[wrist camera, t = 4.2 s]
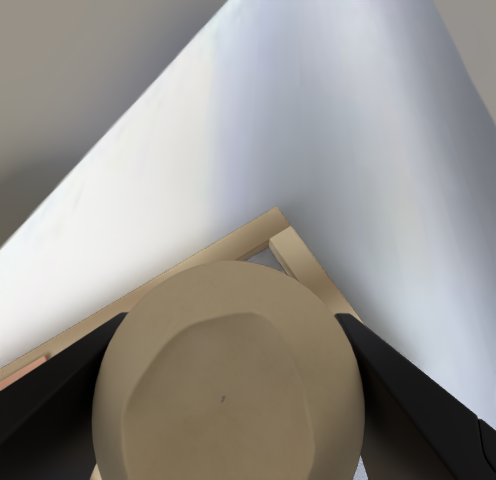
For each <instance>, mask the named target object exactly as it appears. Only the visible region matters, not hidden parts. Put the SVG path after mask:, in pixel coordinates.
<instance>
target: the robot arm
mask: <svg viewBox="0 0 496 480" xmlns="http://www.w3.org/2000/svg"><path fill="white" fill-rule="evenodd" d="M128 313H129V312H121V313H119V314H117V315H116V316H114V317H113V318H111V319H110V320H108V321H107V322H105V323H103V324H102V325H100V326H99V327H97V328H96V329H94V330H93V331H91V332H90V333H88V334H87V335H85V336H84V337H82V338H80V339H79V340H77V341H76V342H74V343H73V344H71V345H70V346H68V347H67V348H65V349H64V350H62V351H61V352H59V353H58V354H56V355H54V356H53V357H51V358H50V359H48V360H47V361H45V362H44V363H42V364H41V365H39V366H38V367H36V368H35V369H33V370H31V371H30V372H28V373H27V374H25V375H24V376H22V377H21V378H19V379H18V380H16V381H15V382H13V383H12V384H10V385H8V386H7V387H5V388H4V389H2V390H1V391H0V480H90V478H91V475H92V473H93V471H94V468H95V466H96V464H97V463H96V457H95V451H94V446H93V437H92V405H93V396H94V390H95V384H96V379H97V376H98V372H99V369H100V365H101V362H102V360H103V357H104V355H105V352H106V350H107V347H108V345H109V343H110V341H111V339H112V337H113V336H114V334H115V332H116V330H117V328H118V327H119V325H120V324H121V323H122V321H123V320H124V318H125V317H126V315H127V314H128ZM334 317H335V318H336V320H337V321H338V323H339V324H340V325H341V327H342V329H343V331H344V333H345V335H346V336H347V338H348V340H349V342H350V344H351V347H352V350H353V352H354V355H355V358H356V360H357V363H358V367H359V371H360V375H361V379H362V385H363V393H364V401H365V426H364V436H363V445H362V449H361V453H360V455H361V458H362V461H363V464H364V467H365V470H366V474H367V477H368V480H496V430H494V429H493V428H492V427H491V426H490V425H488V424H487V423H486V422H485V421H483V420H482V419H478V417H477V415H476V414H474V413H473V412H472V411H471V410H469V409H468V408H467V407H466V406H465V405H463V404H462V403H461V402H460V401H458V400H457V399H456V398H455V397H453V396H452V395H451V394H450V393H448V392H447V391H446V390H445V389H443V388H442V387H441V386H440V385H439V384H437V383H436V382H435V381H434V380H432V379H431V378H430V377H429V376H427V375H426V374H425V373H424V372H422V371H421V370H420V369H419V368H417V367H416V366H415V365H414V364H412V363H411V362H410V361H409V360H408V359H406V358H405V357H404V356H403V355H401V354H400V353H399V352H398V351H396V350H395V349H394V348H393V347H391V346H390V345H389V344H388V343H386V342H385V341H384V340H383V339H382V338H380V337H379V336H378V335H377V334H375V333H374V332H373V331H372V330H370V329H369V328H368V327H367V326H365V325H364V324H363V323H362V322H360V321H359V320H358V319H357V318H355V317H354V316H353V315H352V314H350V313H336V314H335V315H334Z"/></svg>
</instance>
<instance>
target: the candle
mask: <svg viewBox="0 0 496 480" xmlns="http://www.w3.org/2000/svg"><path fill="white" fill-rule="evenodd" d="M364 426H365V401H364V393H363V385H362V379H361V375H360V371H359V367H358V363H357V360H356V358H355V355H354V352H353V350H352V347H351V344H350V342H349V340H348V338H347V336H346V335H345V333H344V331H343V329H342V327H341V325H340V324H339V323H338V321H337V320H336V318H335V317H334V315H333V314H332V312H331V311H330V310H329V309H328V308H327V306H326V305H325V304H324V303H323V302H322V301H321V300H320V299H319V298H318V297H317V296H316V295H315V294H314V293H313V292H312V291H311V290H310V289H308V288H307V287H306V286H304V285H303V284H301V283H300V282H299V281H297V280H296V279H294V278H292V277H290V276H289V275H287V274H285V273H283V272H281V271H278V270H276V269H273V268H271V267H268V266H265V265H261V264H257V263H252V262H244V261H218V262H210V263H205V264H201V265H198V266H194V267H191V268H189V269H186V270H184V271H181V272H179V273H177V274H175V275H173V276H171V277H169V278H168V279H166V280H164V281H163V282H161V283H160V284H159V285H157V286H156V287H154V288H153V289H152V290H150V291H149V292H148V293H147V294H146V295H145V296H144V297H143V298H142V299H140V300H139V301H138V303H137V304H136V305H135V306H134V307H133V308H132V309H131V311H130V312H129V313H128V314H127V315H126V317H125V318H124V320H123V321H122V323H121V324H120V325H119V327H118V328H117V330H116V332H115V334H114V336H113V337H112V339H111V341H110V343H109V345H108V347H107V350H106V352H105V355H104V357H103V360H102V362H101V365H100V369H99V372H98V376H97V379H96V384H95V390H94V396H93V405H92V437H93V446H94V451H95V457H96V463H97V466H98V469H99V472H100V476H101V479H102V480H353V477H354V474H355V472H356V469H357V466H358V462H359V458H360V453H361V449H362V445H363V436H364Z"/></svg>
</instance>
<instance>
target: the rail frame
mask: <svg viewBox="0 0 496 480" xmlns="http://www.w3.org/2000/svg"><path fill="white" fill-rule="evenodd" d="M267 247H269V248H270V250H271V251H272V253H273V254H274V256H275V257H276V258H277V260H278V261H279V263H280V264H281V266H282V267H283V269H284V270H285V272H286V273H287V274H288V275H289V276H290V277H292V278H294V279H296V280H297V281H299V282H300V283H301V284H303V285H304V286H306V287H307V288H308V289H310V290H311V291H312V292H313V293H314V294H315V295H316V296H317V297H318V298H319V299H320V300H321V301H322V302H323V303H324V304H325V305H326V306H327V308H328V309H329V310H330V311H331V312H332V314H333V315H335V314H336V313H350V314H352V315H353V316H354V317H355V318H357V319H358V320H359V321H360V322H362V320H361V319H360V318H359V316H358V315H357V314H356V312H355V311H354V310H353V308H352V307H351V306H350V304H349V303H348V302H347V300H346V299H345V298H344V296H343V295H342V294H341V292H340V291H339V290H338V288H337V287H336V285H335V284H334V283H333V281H332V280H331V279H330V277H329V276H328V275H327V273H326V272H325V271H324V269H323V268H322V267H321V265H320V264H319V263H318V261H317V260H316V259H315V257H314V256H313V254H312V253H311V252H310V250H309V249H308V248H307V246H306V245H305V244H304V242H303V241H302V240H301V238H300V237H299V236H298V234H297V233H296V232H295V230H294V229H293V228H292V226H291V225H290V224H289V222H288V221H287V219H286V218H285V217H284V215H283V214H282V213H281V211H280V210H279V209H278V207H277V206H276V207H274V208H273V209H271V210H269V211H268V212H266V213H264V214H262V215H261V216H259V217H257V218H256V219H254V220H252V221H251V222H249V223H247V224H246V225H244V226H242V227H240V228H239V229H237V230H235V231H234V232H232V233H230V234H229V235H227V236H225V237H223V238H222V239H220V240H218V241H217V242H215V243H213V244H212V245H210V246H208V247H207V248H205V249H203V250H201V251H200V252H198V253H196V254H195V255H193V256H191V257H190V258H188V259H186V260H184V261H183V262H181V263H179V264H178V265H176V266H174V267H173V268H171V269H169V270H168V271H166V272H164V273H162V274H161V275H159V276H157V277H156V278H154V279H152V280H151V281H149V282H147V283H145V284H144V285H142V286H140V287H139V288H137V289H135V290H134V291H132V292H130V293H129V294H127V295H125V296H123V297H122V298H120V299H118V300H117V301H115V302H113V303H112V304H110V305H108V306H106V307H105V308H103V309H101V310H100V311H98V312H96V313H95V314H93V315H91V316H90V317H88V318H86V319H84V320H83V321H81V322H79V323H78V324H76V325H74V326H73V327H71V328H69V329H67V330H66V331H64V332H62V333H61V334H59V335H57V336H56V337H54V338H52V339H51V340H49V341H47V342H45V343H44V344H42V345H40V346H39V347H37V348H35V349H34V350H32V351H30V352H28V353H27V354H25V355H23V356H22V357H20V358H18V359H17V360H15V361H13V362H12V363H10V364H8V365H6V366H5V367H3V368H1V369H0V391H1V390H2V389H4V388H5V387H7V386H8V385H10V384H12V383H13V382H15V381H16V380H18V379H19V378H21V377H22V376H24V375H25V374H27V373H28V372H30V371H31V370H33V369H35V368H36V367H38V366H39V365H41V364H42V363H44V362H45V361H47V360H48V359H50V358H51V357H53V356H54V355H56V354H58V353H59V352H61V351H62V350H64V349H65V348H67V347H68V346H70V345H71V344H73V343H74V342H76V341H77V340H79V339H80V338H82V337H84V336H85V335H87V334H88V333H90V332H91V331H93V330H94V329H96V328H97V327H99V326H100V325H102V324H103V323H105V322H107V321H108V320H110V319H111V318H113V317H114V316H116V315H117V314H119V313H121V312H130V311H131V309H132V308H133V307H134V306H135V305H136V304H137V303H138V301H139V300H140V299H142V298H143V297H144V296H145V295H146V294H147V293H148V292H149V291H150V290H152V289H153V288H154V287H156V286H157V285H159V284H160V283H161V282H163V281H164V280H166V279H168V278H169V277H171V276H173V275H175V274H177V273H179V272H181V271H184V270H186V269H189V268H191V267H194V266H198V265H201V264H205V263H210V262H218V261H244V262H245V261H246V260H248V259H250V258H251V257H253V256H254V255H256V254H258V253H259V252H261V251H263V250H264V249H266V248H267ZM362 323H363V322H362ZM363 324H364V323H363ZM90 480H102V479H101V476H100V472H99V469H98V466H97V464H96V466H95V468H94V471H93V473H92V475H91V478H90Z"/></svg>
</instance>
